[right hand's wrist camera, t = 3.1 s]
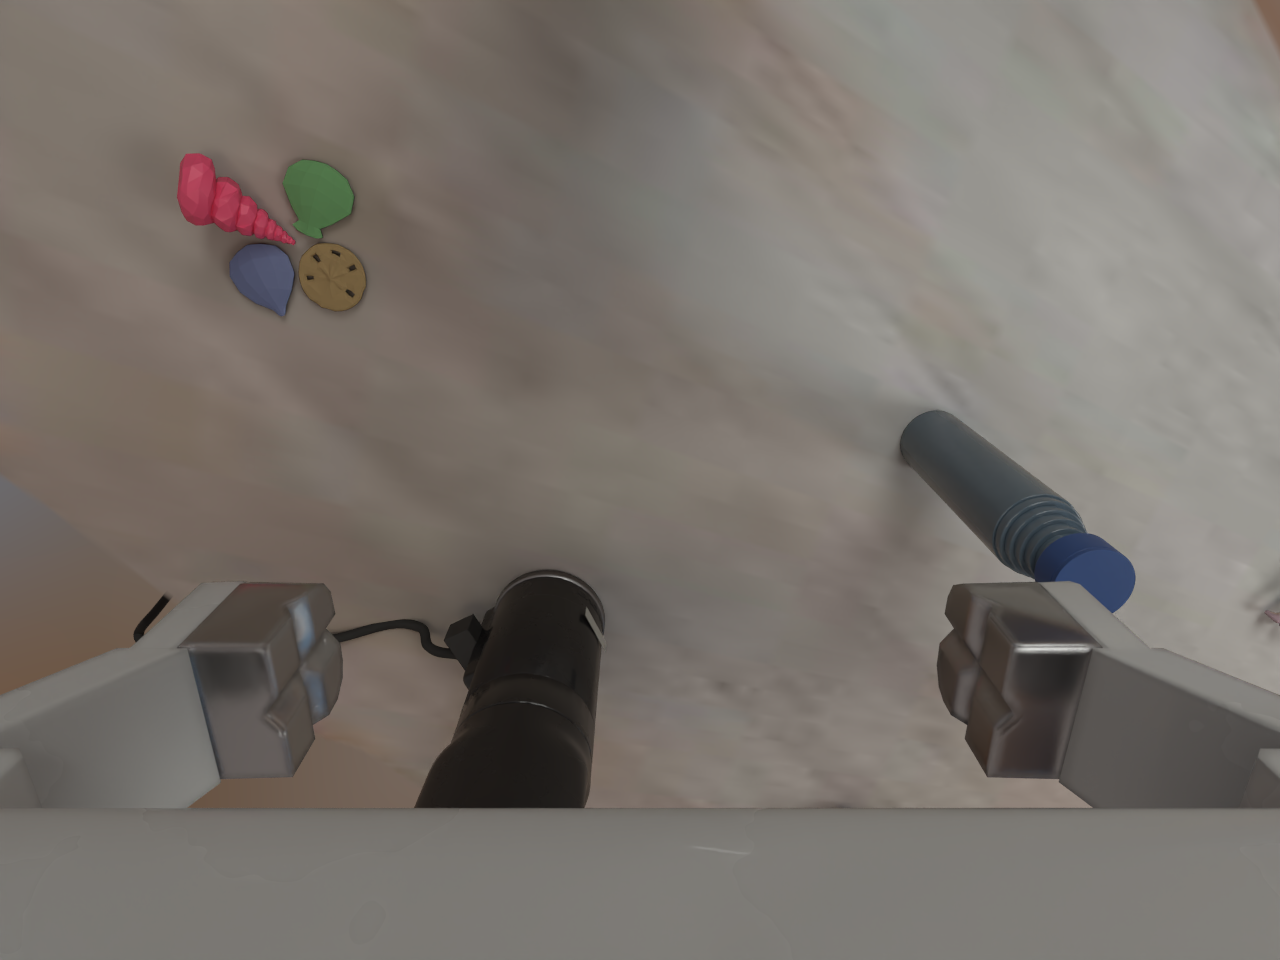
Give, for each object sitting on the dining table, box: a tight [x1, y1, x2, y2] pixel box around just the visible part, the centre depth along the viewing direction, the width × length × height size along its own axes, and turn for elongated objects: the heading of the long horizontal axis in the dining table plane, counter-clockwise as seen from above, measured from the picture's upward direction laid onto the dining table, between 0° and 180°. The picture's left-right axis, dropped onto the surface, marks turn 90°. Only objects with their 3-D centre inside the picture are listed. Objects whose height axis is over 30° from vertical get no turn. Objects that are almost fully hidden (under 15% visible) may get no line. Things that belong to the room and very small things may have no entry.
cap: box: [1034, 533, 1135, 613], centre depth 39 cm, size 4×4×2 cm
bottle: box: [901, 411, 1087, 579], centre depth 49 cm, size 5×5×22 cm
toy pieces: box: [177, 154, 366, 316], centre depth 52 cm, size 12×11×4 cm
